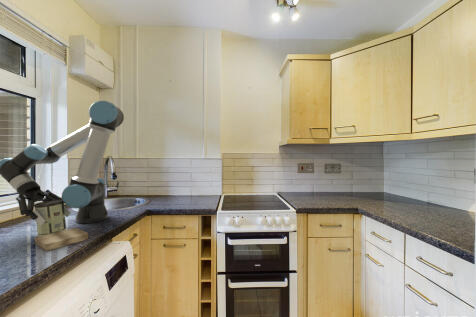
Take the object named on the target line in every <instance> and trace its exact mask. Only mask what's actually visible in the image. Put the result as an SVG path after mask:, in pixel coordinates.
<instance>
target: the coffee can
mask: <svg viewBox="0 0 476 317" xmlns="http://www.w3.org/2000/svg"><path fill="white" fill-rule="evenodd" d="M64 205H65V203H64V202H63V200H52V201H46V202H43V201H40V202H38V203H37V202H36V203H34V211H35V210H36V211H37V212H38V213H39V214H40V215H41V216H42V217H43V218H44V219H45V221H46V222H45V223H44V224H43V225H42V226H40V225H39V224H38V223H37V222H36V221H35V222H36V232H37V237H38V236H42V235H47V234H51V233H55V232H59V231H64V230H67V223H66V216H65V212H64Z"/></svg>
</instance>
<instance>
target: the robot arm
mask: <svg viewBox="0 0 476 317" xmlns="http://www.w3.org/2000/svg"><path fill="white" fill-rule="evenodd" d="M88 115H89V122H88V124H86V125H84V126H82V127H80V128H79V129H76V131H74V132H72V133H70V134H68V135H66V136H64V137H63V138H61V139H59V140H58V141H55V142H54V143H52V144H51V145H49V146H47V147H43V146H41V145H40V144H37V143H32V144H30V145H28V146H27V147H25V148H24V149H23V150H22V151H20V152H19V153H18V154H17V155H15V156H14V157H5V158H2V159H1V160H0V176H1V177H2V178H3V179H4V180H5V181H6V182H7V183H8V184H9V186H11V187H12V189H14V190H15V191H16V192H17V194H18V195H17V197H16V198H15V200H16V201H17V203H18V207H19V208H18V209H19V214H20V215H21V216H24V215H25V217H30V218H31V220H33V221H35V222H37V223H38V224H39V225H40V226H42V225H43V224H44V223H45V222H46V221H45V219H44V218H43V217H42V216H41V215H40V214H39V213H38V212H37V211H36V210H35V206H34V205H35V204H36V203H37V202H38V203H39V202H46V201H52V200H63V202H64V212H65V218H68V217H69V216H70V215H71V214H72V212H71V210H69V209H68V207H70V208H72V209H78V211H77V212H76V216H75V223H77V224H92V223H98V222H102V221H104V220H105V221H106V220H107V219H109V212H108V210H107V207H106V205H105V186H106V185H105V184H106V183H105V180H104V178H100V177H99V178H98V175H99V172H100V169H101V165H102V162H103V159H104V155H105V153H106V150H107V147H108V142H109V140H110V137H111V134H113V133H115V131H116V129H117V128H118V127H120V126H121V125H122V124H123V122H124V120H125V116H124V115H125V114H124V113H123V111H122V110H121V109H120V108H119V107H118V106H116V105H115V104H114V103H112V102H109V101H107V100H98V101H95V102H93V103H92V104H91V105H90V107H89V108H88ZM84 145H85V147H84V150H83V153H82V156H81V159H80V162H79V165H78V169H77V171H76V175H74V176H72V177H71V178H70V180H69V185H67V186H66V187H65V188H64V189H63V191H62V192H61V197H60V196H58V195H57V194H55V193H53V192H52V191H51V190H49V189H46V190H42V189H41V186H40V185H39V184H38V182H36V181H35V179H34V178H33V177H32V176H31V175H30V174H29V173H28V171H29V170H30V169H32V168H33V167H34V166H35V165H42V164H43V165H45V164H49V165H50V164H51V165H52V164H54V163H57V162H58V161H59V160H60V159H61V158H62V157H64V156H65V155H67V154H69V153H71V152H72V151H74V150H76V149H77V148H79V147H81V146H84ZM37 223H36V224H37Z"/></svg>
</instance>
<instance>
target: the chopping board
mask: <svg viewBox="0 0 476 317" xmlns="http://www.w3.org/2000/svg"><path fill="white" fill-rule="evenodd" d="M86 239H87V240H89V233H88V232H87V231H83V230H81V229H80V228H77V227H73V228H69V229H66V230H64V231H59V232H55V233H51V234H47V235H42V236H38V235H37V236H36V237H35V239H34V244H35V245H37V246H38V247H40V248H41V249H42V250H43V251H45V252H47V251H48V252H49V251H51V250H55V249H58V248H62V247H65V246H69V245H73V244H75V243H80V242H83V241H87V240H86Z"/></svg>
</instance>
